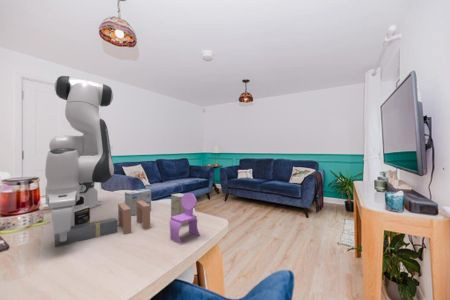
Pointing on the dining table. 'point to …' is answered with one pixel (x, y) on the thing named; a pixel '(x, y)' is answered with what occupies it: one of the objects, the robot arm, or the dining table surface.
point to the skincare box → (177, 205)
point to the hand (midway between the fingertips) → (63, 237)
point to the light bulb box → (137, 198)
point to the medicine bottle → (80, 213)
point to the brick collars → (141, 215)
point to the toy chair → (184, 218)
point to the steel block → (89, 231)
